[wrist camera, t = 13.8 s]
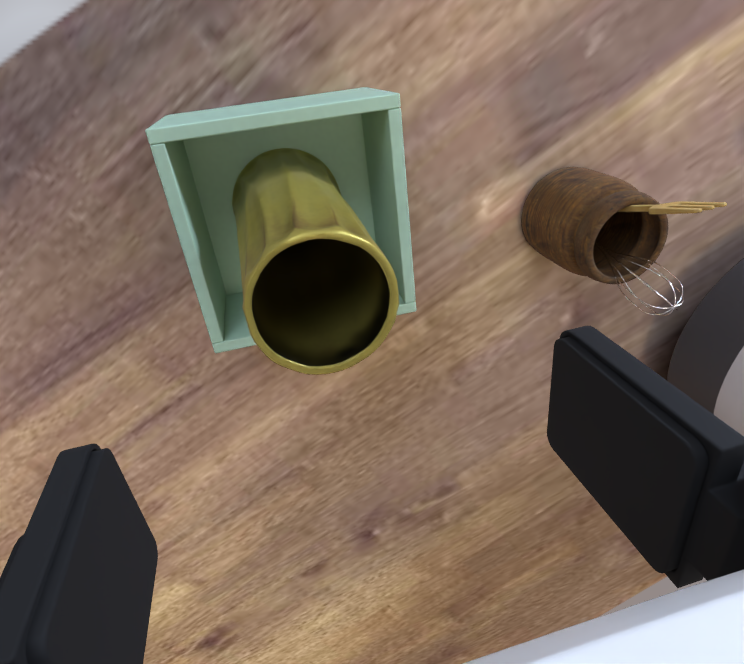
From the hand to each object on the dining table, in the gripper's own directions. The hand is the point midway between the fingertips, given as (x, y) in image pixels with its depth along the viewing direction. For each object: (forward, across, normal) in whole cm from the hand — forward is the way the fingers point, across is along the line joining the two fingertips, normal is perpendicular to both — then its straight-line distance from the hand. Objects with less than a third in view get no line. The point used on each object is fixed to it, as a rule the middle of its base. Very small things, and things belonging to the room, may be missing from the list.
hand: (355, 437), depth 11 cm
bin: (+22, -1, 0) cm, 22 cm away
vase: (+21, -1, 0) cm, 21 cm away
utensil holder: (+22, -18, +4) cm, 28 cm away
